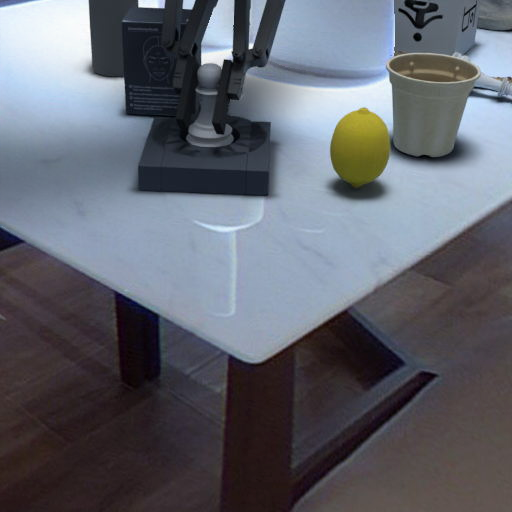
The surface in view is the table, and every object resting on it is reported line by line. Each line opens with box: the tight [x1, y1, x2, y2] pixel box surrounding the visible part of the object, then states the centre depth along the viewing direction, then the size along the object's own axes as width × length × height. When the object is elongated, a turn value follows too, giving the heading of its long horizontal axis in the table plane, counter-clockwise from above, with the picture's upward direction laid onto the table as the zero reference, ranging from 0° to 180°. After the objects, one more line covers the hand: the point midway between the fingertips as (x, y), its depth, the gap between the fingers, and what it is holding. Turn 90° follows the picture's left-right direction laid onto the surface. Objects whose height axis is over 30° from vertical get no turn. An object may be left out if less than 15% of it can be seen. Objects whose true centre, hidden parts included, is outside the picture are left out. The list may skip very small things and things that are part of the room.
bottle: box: [88, 0, 140, 77], centre depth 114 cm, size 6×6×15 cm
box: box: [122, 6, 202, 117], centre depth 105 cm, size 8×6×11 cm
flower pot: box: [385, 53, 482, 158], centre depth 98 cm, size 9×9×9 cm
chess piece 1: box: [186, 62, 234, 147], centre depth 93 cm, size 5×5×8 cm
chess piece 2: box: [453, 52, 512, 98], centre depth 113 cm, size 4×4×10 cm
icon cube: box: [394, 0, 481, 56], centre depth 126 cm, size 10×10×10 cm
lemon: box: [329, 107, 391, 189], centre depth 89 cm, size 6×6×8 cm
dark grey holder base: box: [137, 112, 272, 196], centre depth 94 cm, size 12×14×2 cm
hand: (200, 126), depth 90 cm, fingers closed on chess piece 1, 3 cm apart
